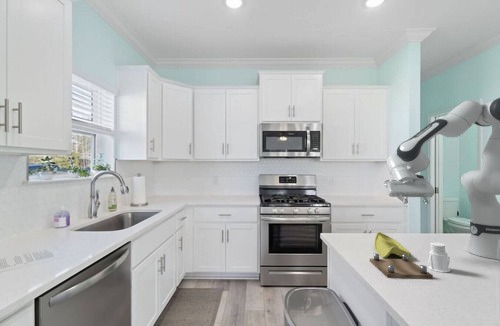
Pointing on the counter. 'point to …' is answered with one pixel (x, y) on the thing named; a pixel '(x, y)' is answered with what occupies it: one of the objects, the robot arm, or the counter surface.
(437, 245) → the recessed downlight
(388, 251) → the plastic component
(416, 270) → the pin board
